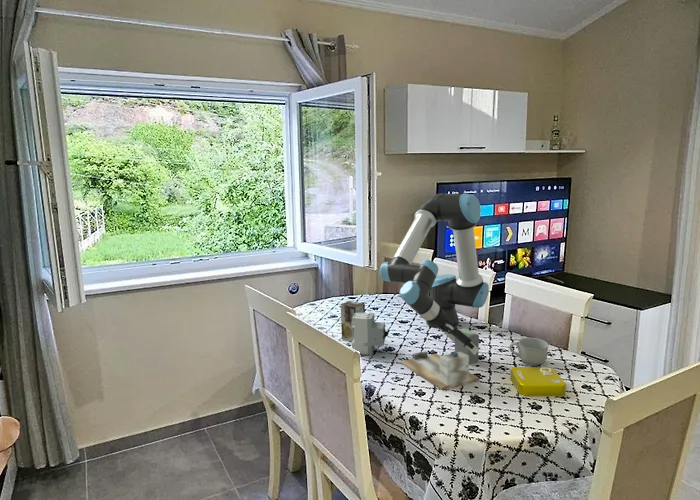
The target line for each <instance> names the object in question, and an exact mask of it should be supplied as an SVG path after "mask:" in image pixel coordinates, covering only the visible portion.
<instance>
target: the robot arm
mask: <svg viewBox="0 0 700 500" xmlns="http://www.w3.org/2000/svg"><path fill="white" fill-rule="evenodd" d="M481 211H482V209H481V204H480V201H479V199H478V197H477V196H475V195H474V194H468V193H444V192H443V193H437V194H434V195H432V196H430V197H429V198H427V199H426V200H424V201H423V202H422V203H421V205H419V207H418V208H417V210H416V211H415V212H414V219H413V222H412V223H411V225H410V226H409V229H408V230H407V232H406V234H405V236H404V237H403V239H402V241H401V242H400V245H399V246H398V248H397V250H396V252H395V253H394V255H393V257H392V259H391V260H390V261H384V262H382V263H381V265H380V268H379V277H380V278H381V280H382V281H384V282H389V283H395V284H396V283H399V284H403V285H402V286H401V287H400V290H399V296H400V298H401V299H402V300H403V301H404V303H405V304H407V305H408V306H409V307H410V308H411V309H412V310H413V311H414V312H416V313H417V314H418V315H419V318H420V319H423V320H424V321H425V322H426V325H428V326H429V327H432V328H435V329H438V330H439V331H441V333H444V335H445V336H446V337H447V338H448V339H449V340H450V341H452V342H453V343H454V344H455V337H456V338H457V339H458V340H459V341H461V342H462V343H463V345H464V347H467V348H468V349H469V350H470V351H471V352H472V353H473V354H474V355H475V354H476V353H477V352H478V353H479V351H480V348H479V349H478V348H477V347H476V346H475V345H474V344H473V343H472V342H471V341H472V340H471V339H469V338H468V337H467V336H466V335H465V334H463V333H462V332H461V331H460V330H459V328H457V327H458V326H459V324H460V323H459V322H460V320H459V317H458V312H457V310H456V309H457V308H456V305H458V306H464V307H471V308H479V309H480V308H482V307H484V306H485V304H486V302H487V300H488V295H489V289H490V286H489V283H488V282H485V281H484V278H483V275H481V274H480V273H479V266H478V263H479V262H478V256H477V247H476V238H475V230H474V228H475V227H476V226H477V223H478V222H479V221H480V218H481V216H482V215H481ZM437 222H447V223H448V228H449V229H450V230H452V233H453V239H454V240H453V241H454V242H453V243H454V246H455V256H456V263H457V271H458V277H457V276H456V275H455V274H449V273H448V274H446V273H445V274H439V275H438V273H439V267H438V264H436V262H434V261H432V260H431V259H423V260H421V261H420V263H419V264H418V265H417V264H412V263H413V262H414V260H415V257H416V256H417V254H418V252H419V251H420V248H421V246H422V245H423V243H424V241H425V239H426V237H427V235H428V234H429V231H430V230H431V228H433V227H434V226H435V225H436V224H437Z"/></svg>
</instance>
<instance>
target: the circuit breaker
mask: <svg viewBox="0 0 700 500" xmlns="http://www.w3.org/2000/svg"><path fill="white" fill-rule="evenodd" d="M351 326H352V328H354V340H353V342H351V349H352V348H353V349H355V350H357V351H359V352H360V353H362V354H361V355H367V354H371V355H373V353H374V352H375V349H376V347H383V346H384V344H385V341H386V337H388V336H389V334H390V333H389V331H388V330H386V322H384V321H382V322H380V321H379V322H377V321H375V313H373V312H372V313H371V312H365V313H355V314H354V316H353V317H352V323H351Z"/></svg>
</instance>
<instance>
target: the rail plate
mask: <svg viewBox="0 0 700 500" xmlns="http://www.w3.org/2000/svg"><path fill="white" fill-rule="evenodd" d="M400 363H401V365H403V366H404V367H406V368H407V369H409V370H410V371H412V372H413V373H414V374H416V375H418V376H419V377H421V378H423V379H424V381H427V382H428V383H430V384H432V385H433V386H435V387H436V388H437V389H439V390H441V391H444V390H448V389H452V388H455V387H459V386H463V385H467V384H470V383H475V382H479V381H480V377H478V376H477V375H475V374H473V373H471V372H470V367H469V366H470V364H469V355H467V354H465V353H463V352H455V350H454V351H451V352H450V353H448V354H444V355H439V354H437V353H432V354H429V353H428V351H426V350H425V351H420V352H416V353H415V352H414V353H412V358H409V359H405V360H401V361H400Z"/></svg>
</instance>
